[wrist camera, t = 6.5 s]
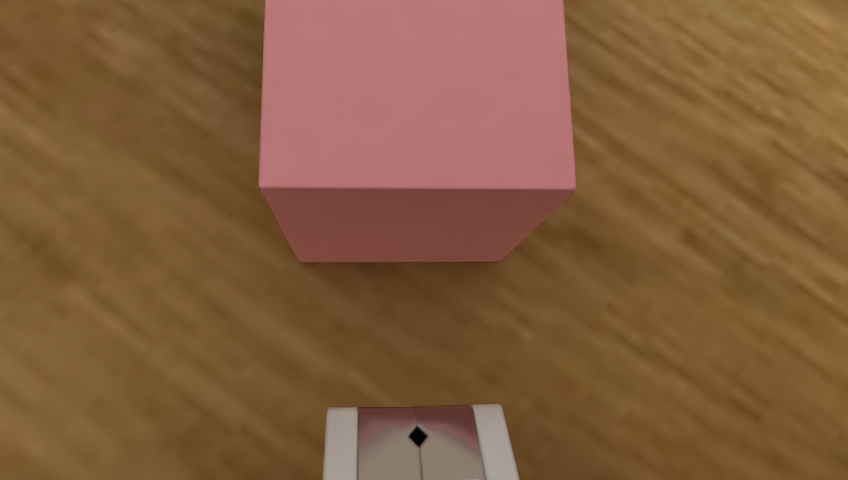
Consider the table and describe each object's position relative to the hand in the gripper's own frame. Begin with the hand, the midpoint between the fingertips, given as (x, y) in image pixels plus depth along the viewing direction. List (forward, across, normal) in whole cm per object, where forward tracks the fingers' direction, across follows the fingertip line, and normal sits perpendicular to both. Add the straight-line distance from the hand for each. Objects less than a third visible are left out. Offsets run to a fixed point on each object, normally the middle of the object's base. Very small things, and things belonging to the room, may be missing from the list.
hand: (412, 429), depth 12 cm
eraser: (+13, 0, -2) cm, 13 cm away
